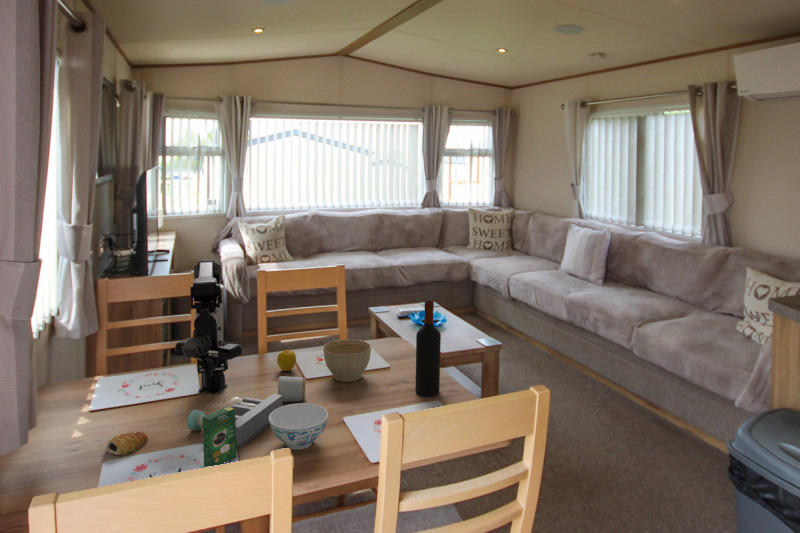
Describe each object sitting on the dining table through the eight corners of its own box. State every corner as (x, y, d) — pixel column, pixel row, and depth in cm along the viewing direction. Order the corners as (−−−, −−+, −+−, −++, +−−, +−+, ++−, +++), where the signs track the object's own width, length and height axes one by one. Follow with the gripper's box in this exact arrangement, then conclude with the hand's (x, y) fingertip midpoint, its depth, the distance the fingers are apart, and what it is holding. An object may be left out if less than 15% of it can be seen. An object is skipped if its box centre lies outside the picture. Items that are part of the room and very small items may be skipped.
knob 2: (228, 418, 160) (227, 401, 159) (239, 410, 165) (238, 394, 164) (255, 423, 157) (255, 405, 156) (266, 415, 162) (265, 398, 161)
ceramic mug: (305, 404, 170) (305, 380, 169) (277, 406, 169) (277, 381, 168) (305, 391, 180) (305, 368, 179) (279, 392, 179) (278, 369, 178)
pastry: (137, 436, 150) (136, 423, 150) (154, 443, 147) (153, 429, 146) (104, 451, 142) (102, 437, 142) (120, 459, 139) (119, 445, 138)
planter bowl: (376, 370, 198) (376, 340, 196) (363, 388, 183) (363, 356, 181) (333, 366, 202) (332, 337, 200) (316, 383, 186) (315, 352, 184)
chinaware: (269, 432, 153) (268, 405, 151) (325, 427, 156) (325, 400, 155) (269, 461, 138) (268, 431, 137) (331, 454, 142) (331, 425, 140)
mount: (203, 441, 147) (202, 420, 146) (249, 409, 167) (248, 389, 166) (239, 449, 144) (238, 427, 143) (282, 414, 163) (282, 395, 162)
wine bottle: (411, 394, 178) (413, 301, 173) (420, 386, 185) (421, 296, 180) (434, 398, 175) (436, 304, 170) (442, 389, 182) (444, 298, 177)
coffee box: (230, 453, 142) (227, 404, 139) (238, 457, 140) (235, 407, 138) (203, 468, 135) (200, 416, 132) (211, 471, 133) (208, 419, 131)
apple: (274, 373, 195) (274, 351, 193) (281, 366, 201) (281, 345, 199) (292, 374, 194) (292, 352, 192) (299, 368, 200) (298, 346, 198)
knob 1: (187, 432, 152) (186, 414, 151) (200, 424, 156) (199, 406, 156) (215, 438, 149) (214, 419, 148) (227, 429, 154) (226, 411, 153)
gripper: (159, 329, 156) (163, 383, 158) (217, 336, 150) (219, 392, 152) (187, 318, 166) (190, 369, 169) (241, 325, 160) (244, 377, 163)
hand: (209, 377), depth 163 cm, fingers closed
